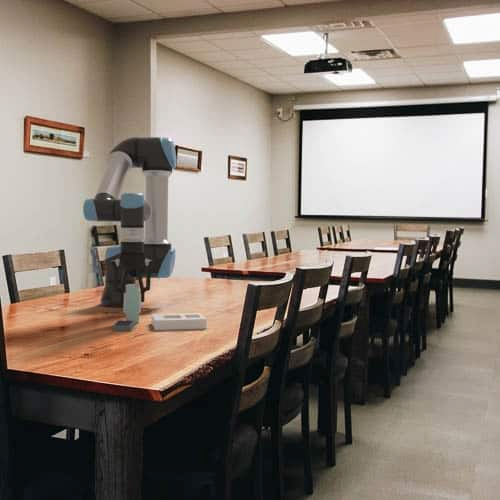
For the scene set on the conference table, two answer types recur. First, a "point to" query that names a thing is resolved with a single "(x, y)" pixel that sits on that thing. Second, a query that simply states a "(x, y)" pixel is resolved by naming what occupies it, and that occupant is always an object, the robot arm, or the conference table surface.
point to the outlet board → (178, 321)
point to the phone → (123, 325)
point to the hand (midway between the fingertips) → (132, 312)
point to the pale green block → (132, 303)
